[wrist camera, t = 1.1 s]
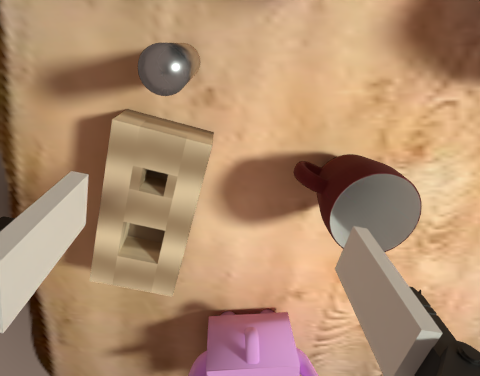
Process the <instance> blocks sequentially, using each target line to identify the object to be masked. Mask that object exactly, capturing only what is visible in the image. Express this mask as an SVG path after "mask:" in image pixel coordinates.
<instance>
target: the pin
mask: <svg viewBox="0 0 480 376" xmlns="http://www.w3.org/2000/svg"><path fill="white" fill-rule="evenodd" d="M199 67H200V56H199V54H198V52H197V50H196V49H195V48H194V47H192V46H191V45H189V44H186V43H155V44H152V45H150V46H148V47H147V48H146V49H145V50H144V51H143V52H142V54H141V55H140V58H139V61H138V73H139V77H140V79H141V81H142V83H143V84H144V86H145V87H146V88H147V89H148V90H150V91H151V92H153V93H155V94H157V95H161V96H169V95H173V94H176V93H177V92H179V91H180V90H181V89H182V88H183V87H184V86H185V85H186V84H187V83H188V82H189V81H190V80H191V78H192V77H193V76H194V75H195V74H196V73H197V72H198V70H199Z"/></svg>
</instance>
